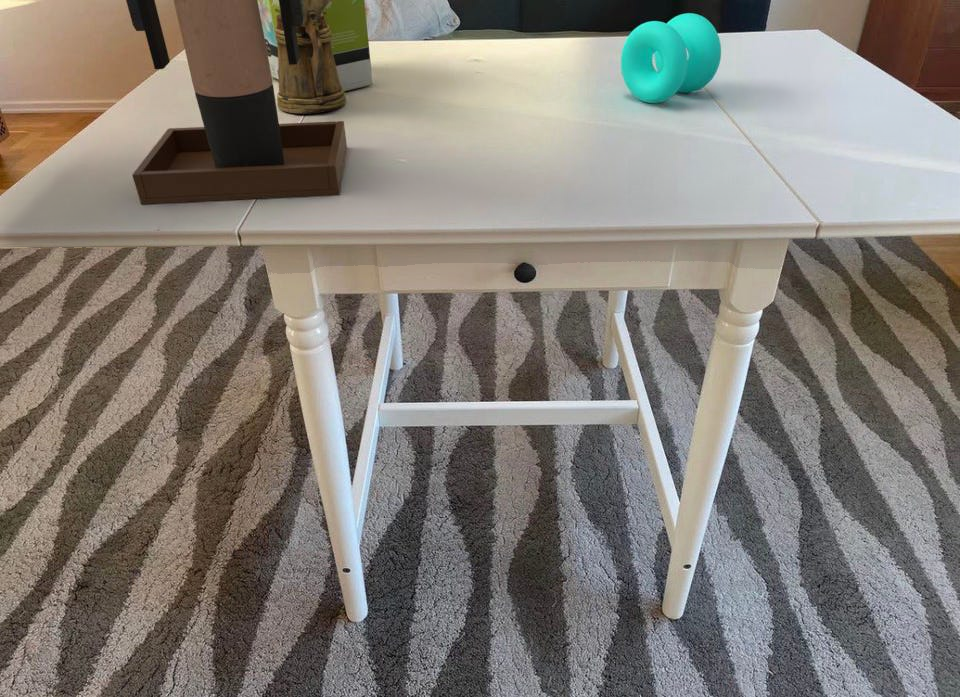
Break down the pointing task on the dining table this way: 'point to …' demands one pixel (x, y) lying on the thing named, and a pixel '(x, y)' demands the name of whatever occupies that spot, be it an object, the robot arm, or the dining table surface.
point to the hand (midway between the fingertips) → (229, 63)
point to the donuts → (670, 57)
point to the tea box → (346, 44)
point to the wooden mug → (309, 66)
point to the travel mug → (232, 80)
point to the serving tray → (193, 177)
